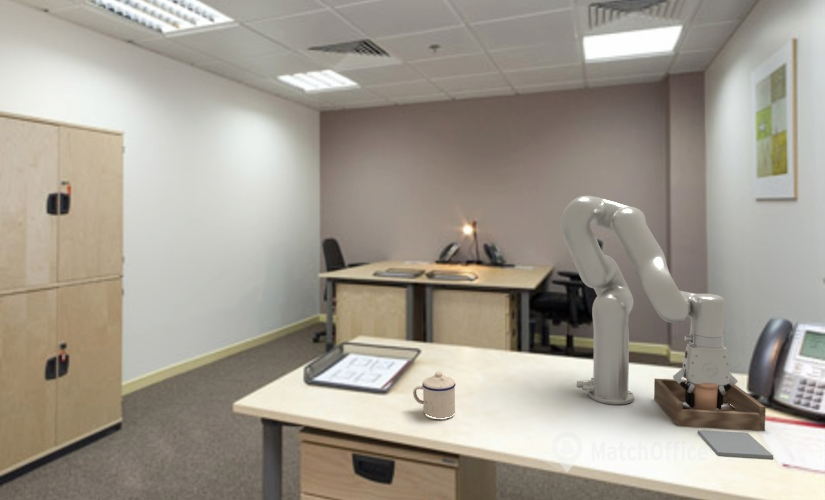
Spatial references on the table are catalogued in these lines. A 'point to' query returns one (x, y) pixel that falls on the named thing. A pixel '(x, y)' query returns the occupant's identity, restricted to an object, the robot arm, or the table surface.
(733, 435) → the slate mat
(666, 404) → the brown wooden square frame
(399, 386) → the table surface
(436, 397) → the teacup with lid
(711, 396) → the terracotta pot
